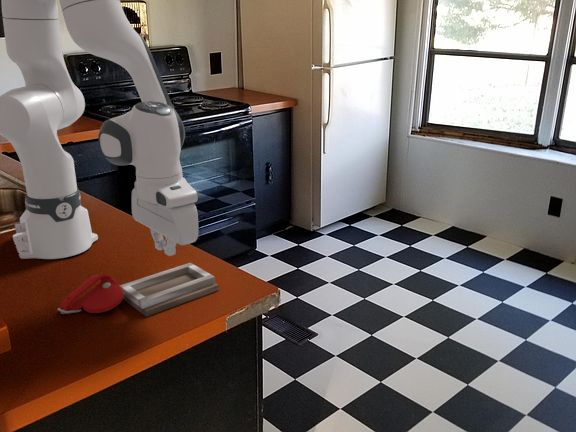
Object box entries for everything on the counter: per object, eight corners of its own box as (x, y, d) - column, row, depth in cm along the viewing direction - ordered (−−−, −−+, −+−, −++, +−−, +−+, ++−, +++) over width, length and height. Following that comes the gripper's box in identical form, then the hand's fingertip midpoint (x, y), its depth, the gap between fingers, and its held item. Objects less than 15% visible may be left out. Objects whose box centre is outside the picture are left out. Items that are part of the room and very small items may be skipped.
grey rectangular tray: (117, 295, 124) (116, 283, 123) (188, 271, 135) (187, 260, 134) (146, 316, 116) (145, 304, 115) (218, 290, 126) (218, 278, 125)
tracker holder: (120, 316, 115) (130, 286, 124) (114, 298, 113) (125, 268, 122) (57, 323, 116) (72, 292, 125) (51, 304, 114) (66, 274, 122)
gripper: (120, 178, 123) (127, 241, 127) (173, 202, 108) (178, 271, 113) (148, 172, 127) (153, 233, 131) (202, 195, 112) (206, 262, 117)
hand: (165, 251), depth 122 cm, fingers closed
